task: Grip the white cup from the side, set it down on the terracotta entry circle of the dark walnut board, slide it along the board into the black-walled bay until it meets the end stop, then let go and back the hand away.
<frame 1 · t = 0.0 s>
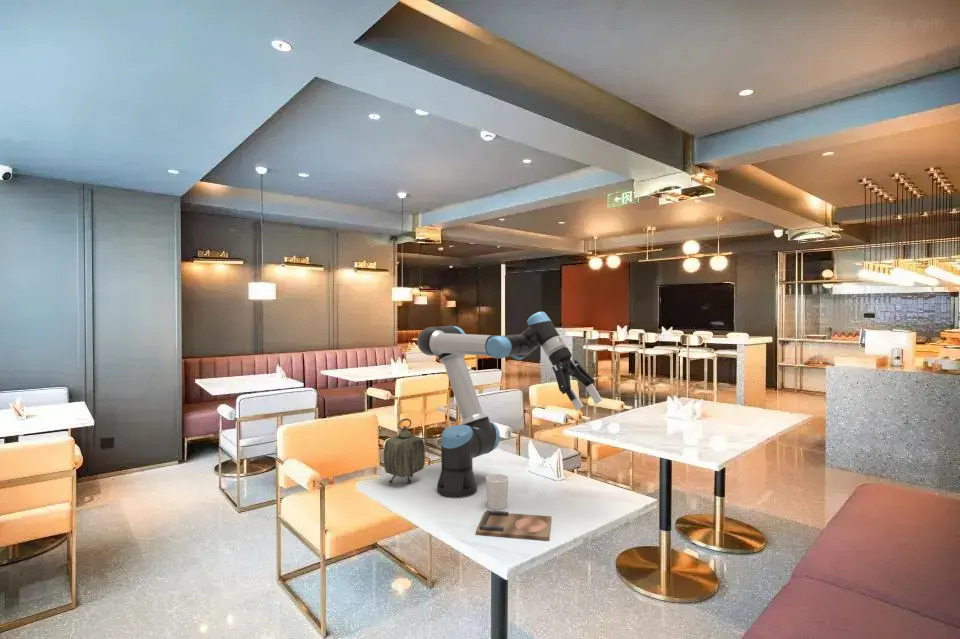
hand: (589, 405, 167), 36 cm above the table, tool tilted 35°, fingers open, 13 cm apart
white cup: (496, 506, 173), on the table
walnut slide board: (514, 526, 156), on the table
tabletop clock: (405, 482, 197), on the table
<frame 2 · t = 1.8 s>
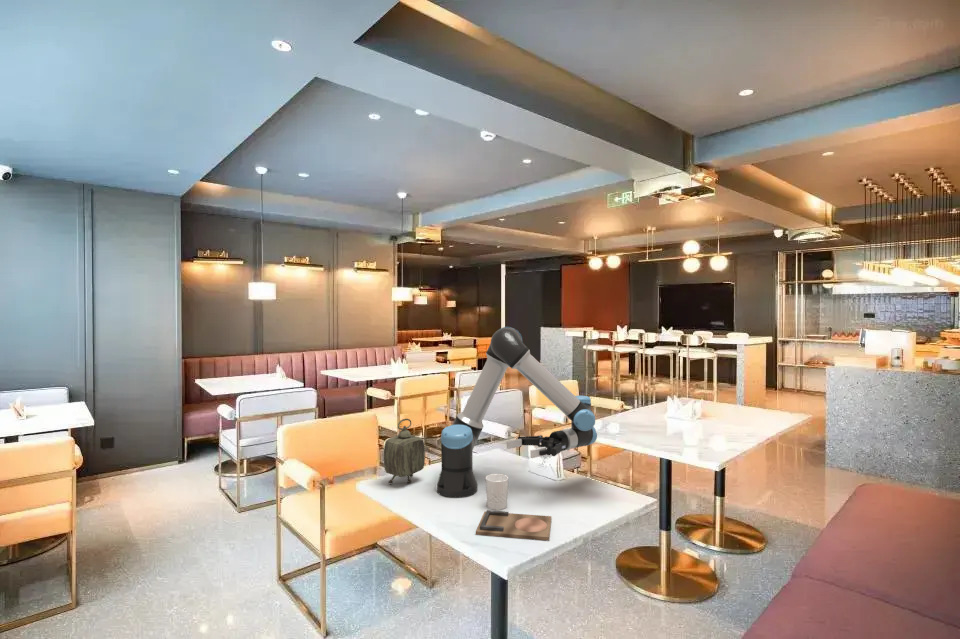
hand: (518, 449, 178), 18 cm above the table, tool horizontal, fingers open, 13 cm apart
nothing on the table moved.
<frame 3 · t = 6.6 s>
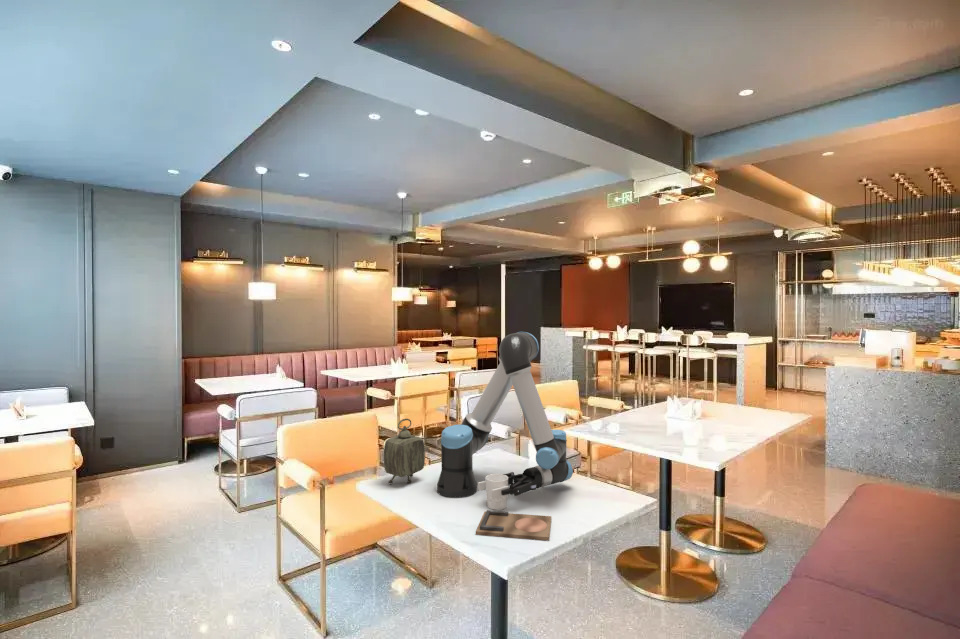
hand: (485, 490, 170), 7 cm above the table, tool horizontal, fingers closed on white cup, 8 cm apart
white cup: (496, 506, 173), on the table, touching gripper
everything else where it was.
when the fingers open (8 cm above the table, at t = 15.1 s): white cup stays where it is, resting on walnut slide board.
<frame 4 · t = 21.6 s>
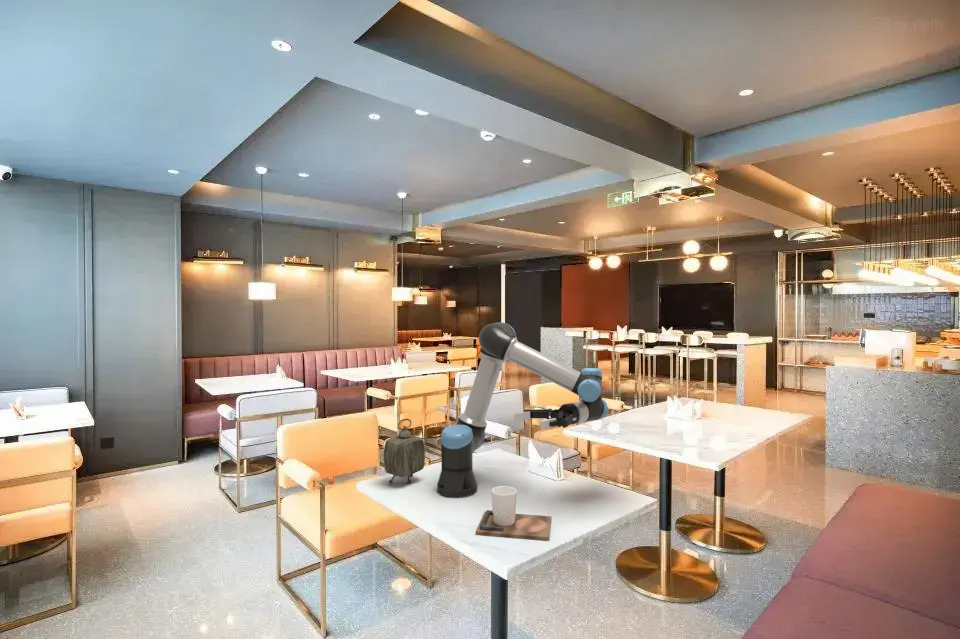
hand: (527, 421, 170), 30 cm above the table, tool horizontal, fingers open, 13 cm apart
white cup: (504, 522, 158), point 1 cm above the table, touching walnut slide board
everything else where it was.
at the end: white cup 1.3 cm from the target spot on the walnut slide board, point 0.8 cm above the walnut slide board's base; white cup tilted 0°; the gripper is holding nothing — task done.
